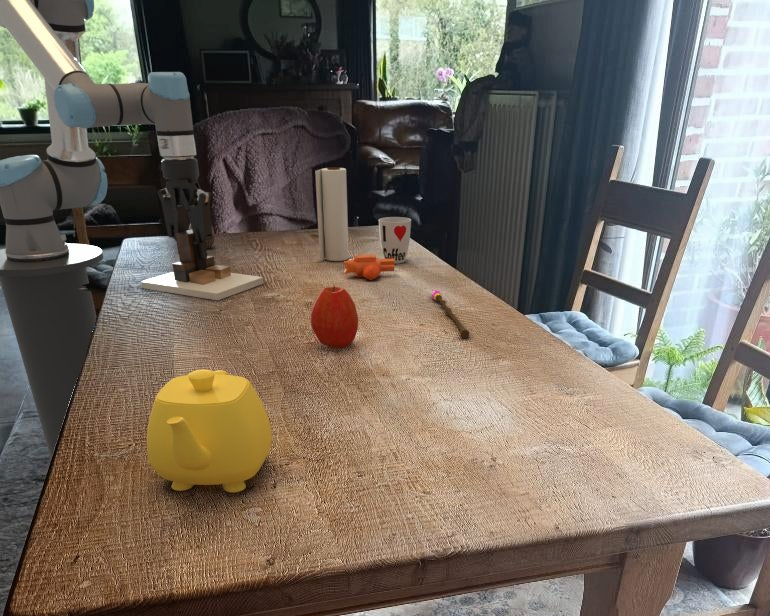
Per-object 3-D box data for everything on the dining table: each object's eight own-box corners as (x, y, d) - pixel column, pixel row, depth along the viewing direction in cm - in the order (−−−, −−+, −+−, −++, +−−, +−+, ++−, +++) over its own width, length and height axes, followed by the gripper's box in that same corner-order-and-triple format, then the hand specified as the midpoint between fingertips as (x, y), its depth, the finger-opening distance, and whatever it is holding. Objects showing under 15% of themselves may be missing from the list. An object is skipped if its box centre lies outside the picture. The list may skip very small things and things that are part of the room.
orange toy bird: (393, 248, 167) (342, 250, 165) (398, 266, 162) (346, 268, 160) (391, 268, 170) (342, 270, 169) (397, 285, 166) (346, 288, 164)
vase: (206, 251, 193) (201, 216, 188) (185, 249, 195) (180, 215, 190) (221, 246, 198) (217, 212, 193) (201, 244, 200) (196, 211, 196)
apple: (307, 352, 122) (303, 289, 117) (318, 337, 129) (314, 277, 124) (354, 354, 121) (352, 291, 116) (362, 339, 128) (361, 278, 123)
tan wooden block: (206, 277, 162) (205, 268, 160) (216, 273, 165) (215, 264, 164) (221, 279, 160) (220, 270, 159) (230, 275, 163) (229, 266, 162)
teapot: (285, 443, 92) (277, 348, 86) (249, 526, 75) (235, 416, 69) (183, 440, 93) (166, 346, 86) (124, 522, 76) (98, 413, 70)
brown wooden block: (189, 282, 158) (188, 273, 157) (203, 278, 161) (201, 269, 160) (202, 284, 156) (201, 275, 155) (215, 280, 159) (214, 271, 158)
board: (142, 288, 160) (140, 281, 159) (190, 273, 172) (189, 266, 171) (217, 300, 151) (216, 293, 150) (263, 283, 163) (262, 277, 162)
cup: (376, 264, 178) (375, 222, 173) (382, 257, 185) (381, 216, 180) (408, 265, 177) (408, 222, 172) (412, 258, 184) (413, 217, 179)
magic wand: (469, 341, 129) (435, 296, 154) (473, 332, 128) (438, 287, 153) (458, 338, 128) (425, 293, 153) (462, 328, 127) (429, 284, 152)
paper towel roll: (349, 256, 186) (346, 166, 175) (348, 261, 181) (345, 169, 170) (322, 256, 186) (317, 166, 175) (319, 261, 181) (315, 169, 170)
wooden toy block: (174, 280, 159) (167, 235, 154) (204, 271, 167) (198, 227, 161) (186, 282, 158) (179, 236, 153) (216, 272, 165) (210, 228, 160)
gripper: (136, 157, 150) (156, 271, 162) (196, 161, 143) (212, 279, 155) (162, 154, 155) (179, 264, 168) (221, 157, 149) (234, 272, 161)
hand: (195, 271), depth 162 cm, fingers closed on wooden toy block, 3 cm apart
